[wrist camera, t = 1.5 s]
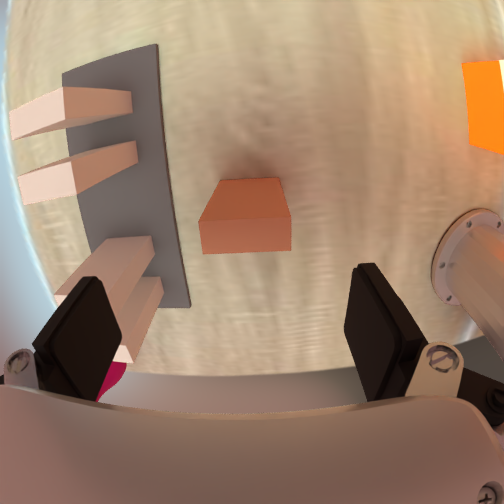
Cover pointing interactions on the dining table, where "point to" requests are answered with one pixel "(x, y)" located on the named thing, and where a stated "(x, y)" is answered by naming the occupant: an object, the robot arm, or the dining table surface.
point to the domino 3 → (114, 268)
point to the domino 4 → (137, 317)
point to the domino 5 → (246, 218)
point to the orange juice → (485, 103)
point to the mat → (132, 167)
